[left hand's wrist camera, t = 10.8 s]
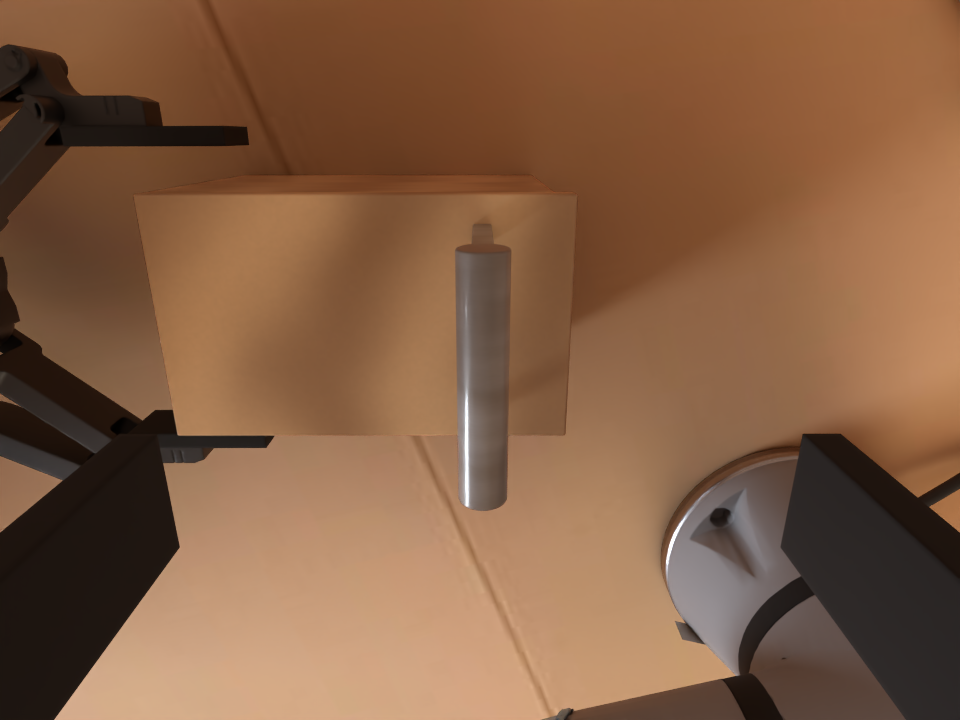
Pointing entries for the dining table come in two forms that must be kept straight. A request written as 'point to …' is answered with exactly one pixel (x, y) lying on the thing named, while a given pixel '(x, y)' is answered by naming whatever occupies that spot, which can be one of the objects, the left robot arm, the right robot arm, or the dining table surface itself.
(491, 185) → the chest
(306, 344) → the lid
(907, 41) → the dining table surface
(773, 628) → the left robot arm
